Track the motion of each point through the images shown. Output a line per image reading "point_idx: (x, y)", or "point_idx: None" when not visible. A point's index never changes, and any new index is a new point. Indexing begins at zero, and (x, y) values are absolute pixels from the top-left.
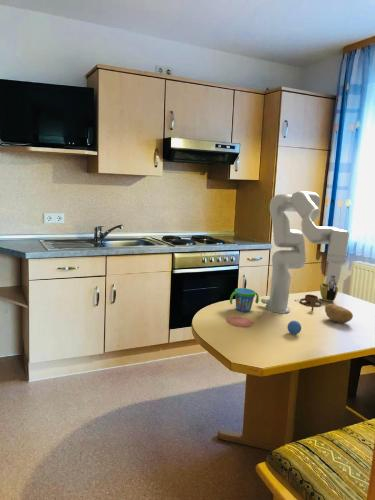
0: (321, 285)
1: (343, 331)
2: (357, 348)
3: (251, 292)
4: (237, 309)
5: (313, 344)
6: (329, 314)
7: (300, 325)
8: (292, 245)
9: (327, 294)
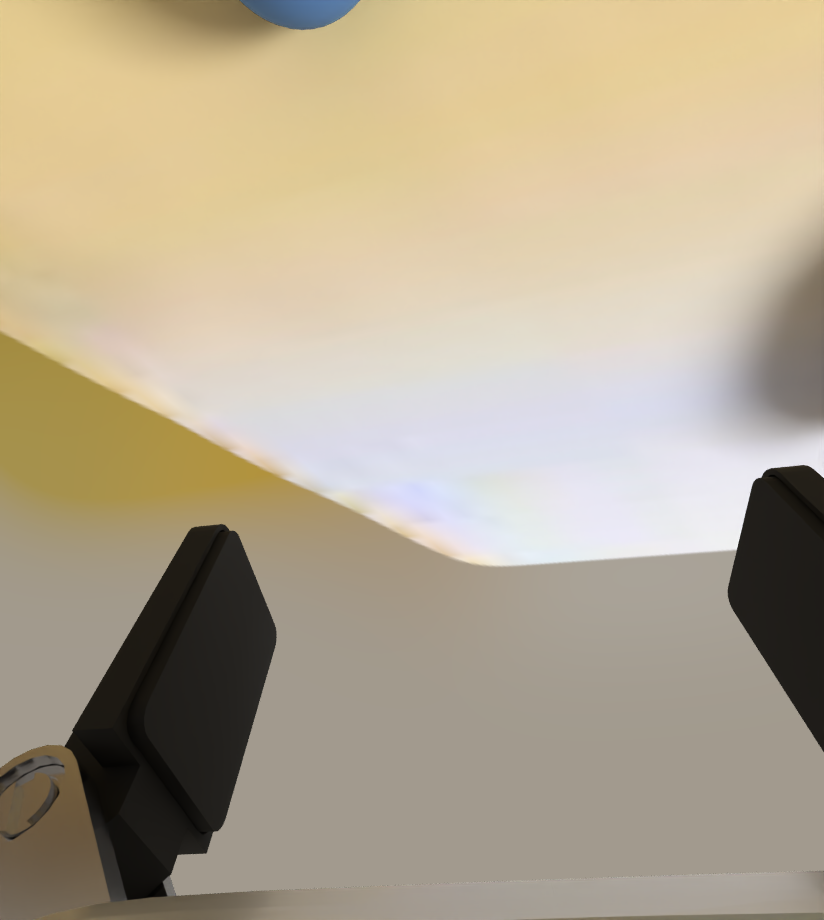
0: None
1: (713, 391)
2: (399, 515)
3: None
4: None
5: (208, 240)
6: None
7: (292, 2)
8: None
9: (151, 622)
